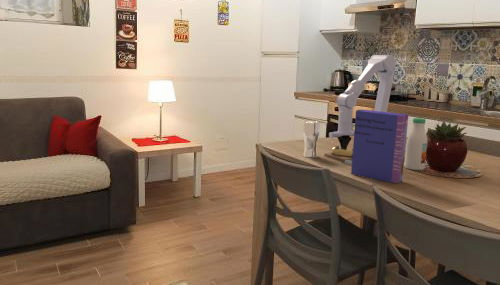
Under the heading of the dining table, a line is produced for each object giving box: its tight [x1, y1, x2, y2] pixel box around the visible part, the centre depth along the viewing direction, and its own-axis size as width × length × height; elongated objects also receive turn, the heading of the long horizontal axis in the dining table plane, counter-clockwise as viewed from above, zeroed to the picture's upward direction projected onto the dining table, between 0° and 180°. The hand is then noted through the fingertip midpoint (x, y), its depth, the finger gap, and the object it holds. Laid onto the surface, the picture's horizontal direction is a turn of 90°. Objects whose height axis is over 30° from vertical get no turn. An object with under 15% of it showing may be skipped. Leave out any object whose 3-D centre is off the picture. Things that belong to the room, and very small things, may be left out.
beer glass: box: [303, 120, 321, 158], centre depth 192 cm, size 7×7×15 cm
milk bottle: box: [403, 117, 428, 171], centre depth 176 cm, size 8×8×20 cm
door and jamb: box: [323, 152, 352, 166], centre depth 187 cm, size 18×26×4 cm
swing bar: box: [331, 145, 353, 156], centre depth 190 cm, size 12×4×3 cm, turn 66°
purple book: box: [350, 109, 410, 185], centre depth 159 cm, size 17×5×24 cm, turn 50°
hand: (343, 152), depth 193 cm, fingers closed, pressing on swing bar
